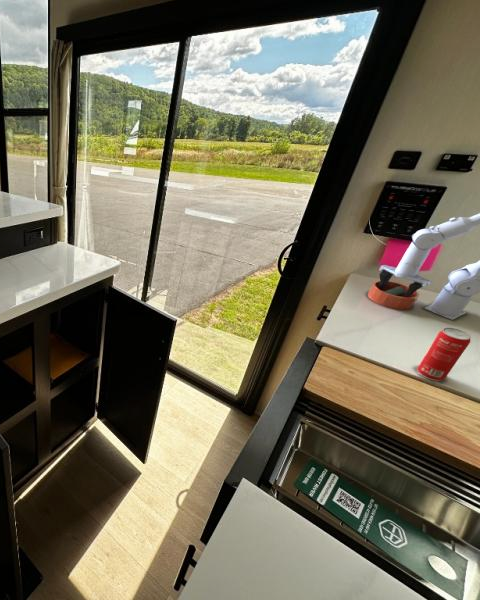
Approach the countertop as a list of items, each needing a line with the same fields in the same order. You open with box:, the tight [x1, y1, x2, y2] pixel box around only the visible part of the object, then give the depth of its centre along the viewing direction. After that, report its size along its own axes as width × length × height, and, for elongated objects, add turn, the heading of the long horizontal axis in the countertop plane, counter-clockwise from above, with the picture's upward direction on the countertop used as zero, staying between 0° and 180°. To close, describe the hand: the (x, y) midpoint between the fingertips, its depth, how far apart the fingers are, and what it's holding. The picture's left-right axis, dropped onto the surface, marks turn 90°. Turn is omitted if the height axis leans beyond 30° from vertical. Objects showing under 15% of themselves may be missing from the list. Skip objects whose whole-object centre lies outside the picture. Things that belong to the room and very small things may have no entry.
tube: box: [384, 287, 406, 297], centre depth 122 cm, size 9×4×4 cm, turn 114°
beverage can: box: [416, 327, 472, 382], centre depth 87 cm, size 6×6×15 cm
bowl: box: [367, 280, 420, 310], centre depth 122 cm, size 13×13×5 cm
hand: (392, 294), depth 122 cm, fingers open, 7 cm apart
